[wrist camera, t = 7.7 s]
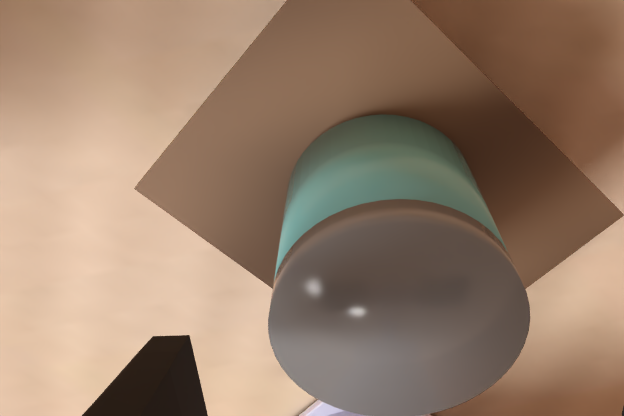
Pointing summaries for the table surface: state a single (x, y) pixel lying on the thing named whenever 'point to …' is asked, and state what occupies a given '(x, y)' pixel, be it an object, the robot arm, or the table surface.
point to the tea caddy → (392, 274)
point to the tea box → (358, 103)
